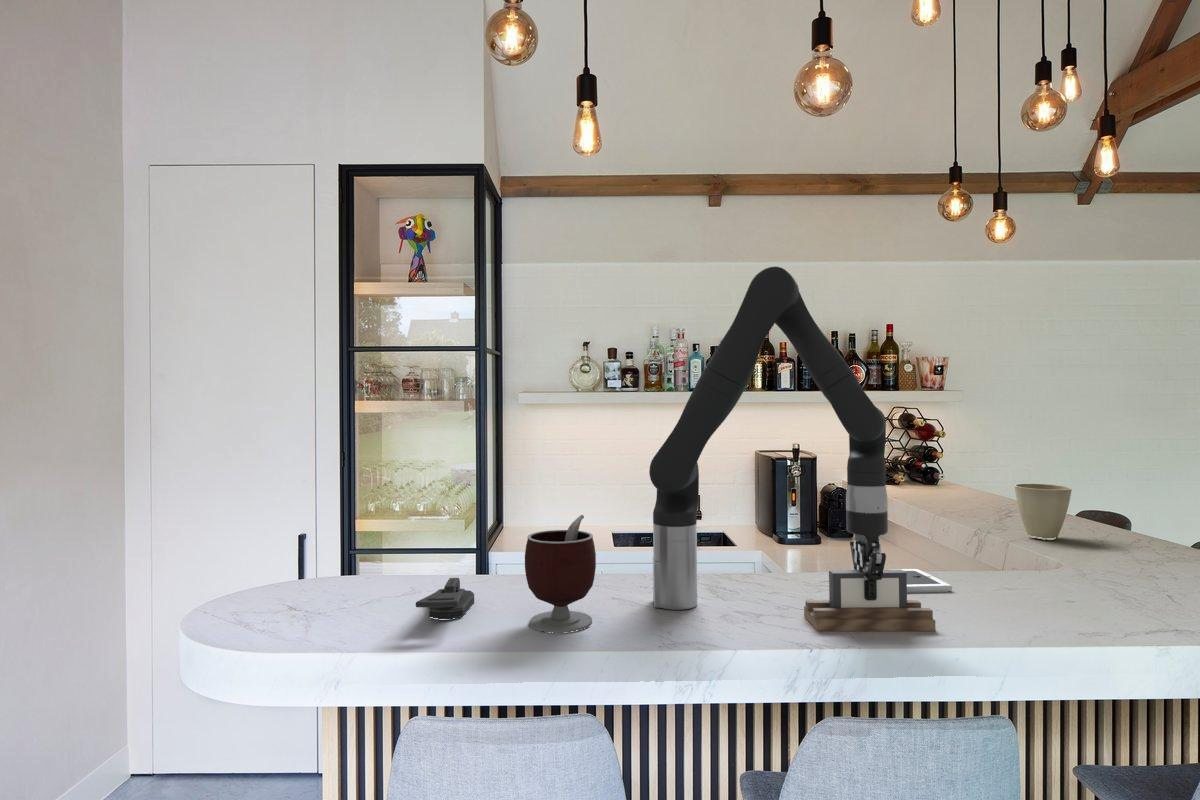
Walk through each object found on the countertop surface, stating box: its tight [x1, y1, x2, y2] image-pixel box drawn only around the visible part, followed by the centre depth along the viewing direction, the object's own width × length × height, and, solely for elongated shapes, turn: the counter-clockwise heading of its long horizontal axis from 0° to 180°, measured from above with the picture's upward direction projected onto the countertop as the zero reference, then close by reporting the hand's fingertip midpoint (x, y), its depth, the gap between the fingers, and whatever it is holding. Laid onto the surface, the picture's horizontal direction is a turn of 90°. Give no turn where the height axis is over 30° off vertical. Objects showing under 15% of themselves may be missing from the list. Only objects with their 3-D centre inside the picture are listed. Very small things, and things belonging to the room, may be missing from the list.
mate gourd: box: [524, 514, 597, 634], centre depth 140 cm, size 16×14×20 cm
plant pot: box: [1014, 483, 1072, 538], centre depth 219 cm, size 15×15×16 cm
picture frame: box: [890, 568, 953, 594], centre depth 167 cm, size 16×3×21 cm
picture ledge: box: [803, 599, 936, 632], centre depth 138 cm, size 22×9×4 cm, turn 89°
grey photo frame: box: [828, 569, 908, 608], centre depth 138 cm, size 14×2×8 cm, turn 89°
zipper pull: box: [415, 577, 475, 619], centre depth 144 cm, size 9×7×25 cm
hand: (867, 597), depth 138 cm, fingers closed on grey photo frame, 2 cm apart
